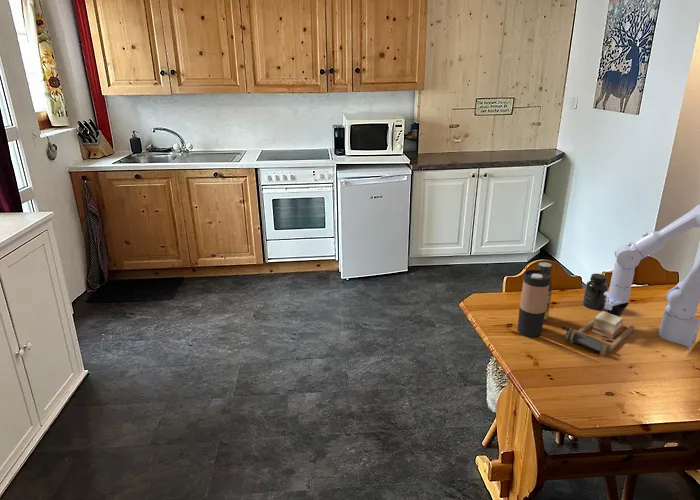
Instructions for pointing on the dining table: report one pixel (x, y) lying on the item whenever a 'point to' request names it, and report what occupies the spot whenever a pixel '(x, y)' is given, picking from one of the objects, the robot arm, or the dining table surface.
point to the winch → (585, 341)
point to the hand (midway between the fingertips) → (612, 322)
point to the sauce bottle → (547, 268)
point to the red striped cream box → (607, 324)
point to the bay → (610, 345)
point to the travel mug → (533, 303)
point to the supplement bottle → (595, 292)
